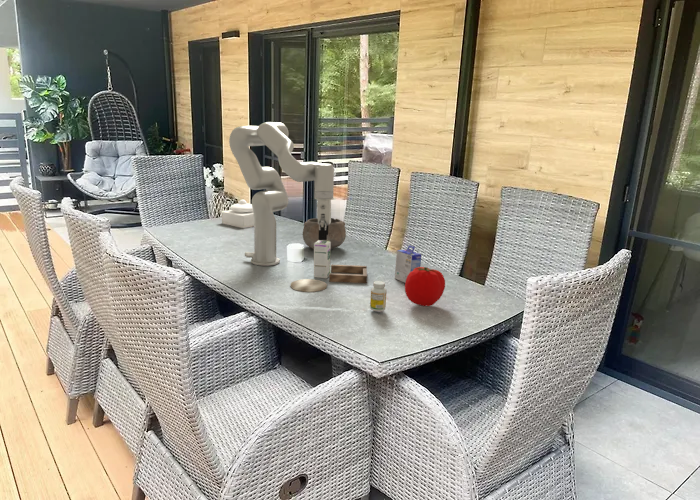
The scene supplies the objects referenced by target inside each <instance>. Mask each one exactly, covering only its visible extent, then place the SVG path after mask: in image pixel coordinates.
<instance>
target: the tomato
mask: <svg viewBox="0 0 700 500" xmlns="http://www.w3.org/2000/svg"><path fill="white" fill-rule="evenodd" d="M404 284H405V285H404V292H405V295H406V297H407V299H408V300H409V301H410V302H411V303H412V304H414V305H418V306H421V307H430V306H433V305H435V304H436V303H437V302H438V301H439V300H440V299H441V297H442V296H443V295H444V292H445V288H446V280H445V277H444V275H443V273H442V272H441V271H439V270H437V269H431V268H429V267H428V266H427V267H426V266H425V267H424V266H420V267H417V268H416V267H415V269H414V270H413V271H412V272H410V273H409V275H408V276H407V279H406V283H404Z"/></svg>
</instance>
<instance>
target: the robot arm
mask: <svg viewBox="0 0 700 500" xmlns="http://www.w3.org/2000/svg"><path fill="white" fill-rule="evenodd" d="M288 129H289V128H288V127H287V126H286V125H285V124H284V123H282V122H280V121H279V122H277V121H276V122H275V121H274V122H273V121H266V122H263V123H261V124H259V125H240V126H238V127H234V129H232V131H231V132H230V135H229V141H228V142H229V143H228V144H229V148H230V151H231V153H232V155H233V156H234V158H235V160H236V163H237V164H238V167H239V169H240V171H241V173H242V177H243V178H244V181H245V182H246V185H247V187H248V188H249V189H250V190H252V191H253V190H254V191H257V192H256V193H254V195H253V196H252V199H251V204H252V208H253V213H254V226H253V228H254V230H253V231H254V232H253V233H254V235H253V237H254V238H253V241H254V251H251V252H247V251H245V252H244V257H246V258H251V259H250V263H251V264H252V265H255V266H260V267H261V266H265V267H267V266H275V265H278V264H279V263H281V259H280V258H279V257H277V220H276V216H275V215H274V213H273V212H279V211H283V210H284V209H286V208H287V206H288V205H289V196H288V193H287V190H286V188H285V185H284V183H283V181H282V178H281V176H280V174H279V172H278V171H277V170H276V169H275V168H273V167H270V166H262V165H261V164H260V161H259V158H258V157H257V155H256V153H255V152H254V151H253V150H252V149H251V148H250V147H260V146H262V147H263V146H266V147H267V148H268V149H269V150H270V151H271V152H272V153H273V154H274V155H276V157H277V159H278V163H279V166H280V169H281V170H282V171H283V172H284V173H285V174H286V175H287V176H288V177H289V178H290V179H291V180H293V181H295V182H298V183H304V182H312V181H313V182H314V195H313V196H314V200H317V201H316V202H317V204H316V205H317V207H316V209H317V212H316V213H317V215H316V216H317V218H318V224H319V240H327V235H328V225H329V224H330V223H331V218H332V200H334V187H335V186H334V183H335V182H334V179H335V178H334V177H335V176H334V175H335V173H334V171H335V167H334V165H333V164H331V163H323V162H322V163H321V162H318V161H317V162H316V161H304V162H303V161H302V162H299V160H297V159H296V158H295V157H294V156H293V155H292V152H293V151H294V145H295V144H294V142H293V141H292V140H291V139H290V138H289V134H290V132H289V130H288ZM258 190H259V191H258ZM260 190H261V191H260Z"/></svg>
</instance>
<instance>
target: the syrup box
mask: <svg viewBox="0 0 700 500" xmlns="http://www.w3.org/2000/svg"><path fill="white" fill-rule="evenodd" d="M331 250H332V249H331V242H330V241H325V240H318V241H317V242H315V243H314V249H313V277H314V278H319V279H328V278H329V274H330V273H331V254H332V252H331Z"/></svg>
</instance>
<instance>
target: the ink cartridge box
mask: <svg viewBox="0 0 700 500" xmlns="http://www.w3.org/2000/svg"><path fill="white" fill-rule="evenodd" d="M410 248H411V249H410ZM415 248H416V247H415V246H413V245H410V244H409V245H408V246H407V249H398V250H396V258H395V269H394V279H395V280H397V281H400V282H403V283H404V284H405V283H406V279H407V276H408V275H409V273H410V272H412V271H413V270H414V269H415V267H416V268H417V267H422V266H421V263H422V254H421V253H418V252H416V251H415Z"/></svg>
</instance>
